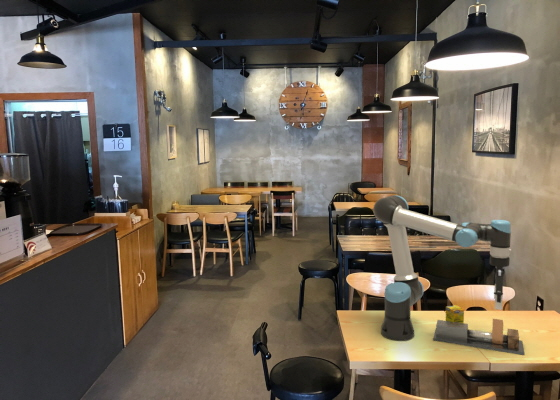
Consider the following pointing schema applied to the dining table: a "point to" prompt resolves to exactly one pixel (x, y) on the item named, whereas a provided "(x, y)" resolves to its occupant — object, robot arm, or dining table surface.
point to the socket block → (513, 338)
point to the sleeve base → (458, 335)
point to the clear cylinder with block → (495, 336)
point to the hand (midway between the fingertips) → (497, 303)
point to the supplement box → (455, 314)
